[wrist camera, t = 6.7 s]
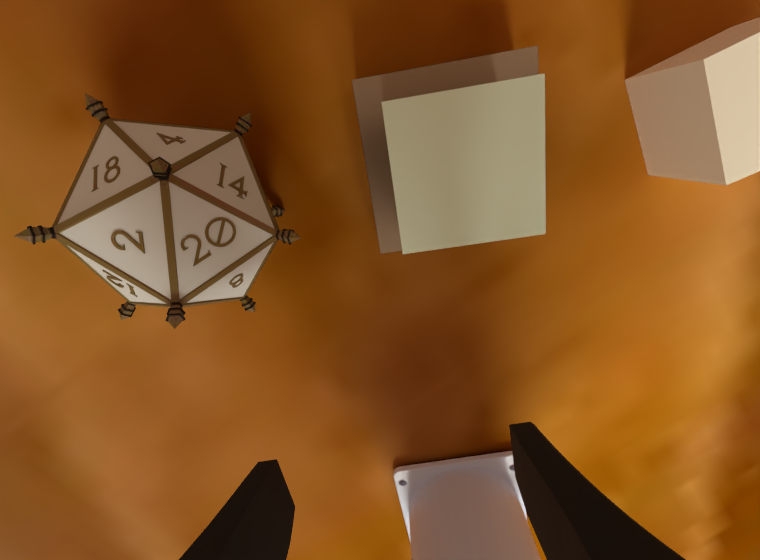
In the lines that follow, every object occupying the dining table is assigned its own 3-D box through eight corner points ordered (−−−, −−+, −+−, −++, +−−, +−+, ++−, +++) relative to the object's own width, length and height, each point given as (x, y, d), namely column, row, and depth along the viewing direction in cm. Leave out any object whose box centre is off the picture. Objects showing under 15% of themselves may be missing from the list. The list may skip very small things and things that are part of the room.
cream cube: (747, 129, 17) (863, 126, 13) (647, 174, 18) (726, 185, 14) (731, 26, 16) (855, -16, 12) (623, 80, 17) (703, 59, 12)
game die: (252, 159, 22) (260, 12, 12) (307, 297, 21) (357, 251, 12) (68, 199, 18) (-112, 37, 9) (130, 364, 18) (7, 373, 9)
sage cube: (504, 209, 16) (545, 234, 12) (399, 225, 16) (402, 254, 12) (499, 93, 14) (544, 73, 10) (383, 113, 15) (381, 102, 11)
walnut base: (518, 217, 19) (540, 229, 16) (381, 237, 20) (380, 253, 17) (512, 61, 17) (537, 45, 14) (357, 89, 17) (351, 79, 14)
